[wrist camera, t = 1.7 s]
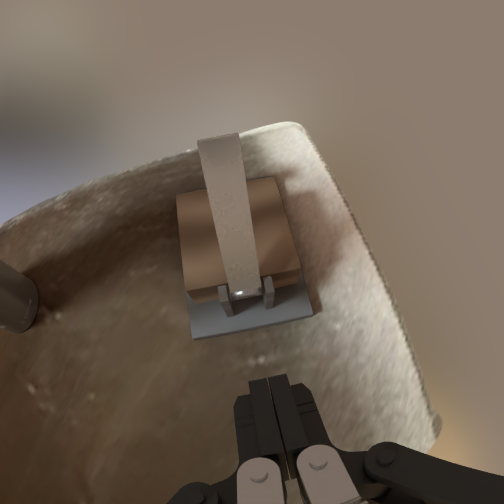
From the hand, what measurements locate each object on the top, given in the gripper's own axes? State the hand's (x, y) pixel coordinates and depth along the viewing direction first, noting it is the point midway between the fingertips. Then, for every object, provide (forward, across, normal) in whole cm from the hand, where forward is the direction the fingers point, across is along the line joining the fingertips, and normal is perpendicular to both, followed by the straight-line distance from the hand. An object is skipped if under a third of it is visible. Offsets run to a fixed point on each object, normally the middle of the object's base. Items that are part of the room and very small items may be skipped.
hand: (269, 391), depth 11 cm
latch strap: (+17, 0, -2) cm, 17 cm away
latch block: (+28, 0, +4) cm, 29 cm away
